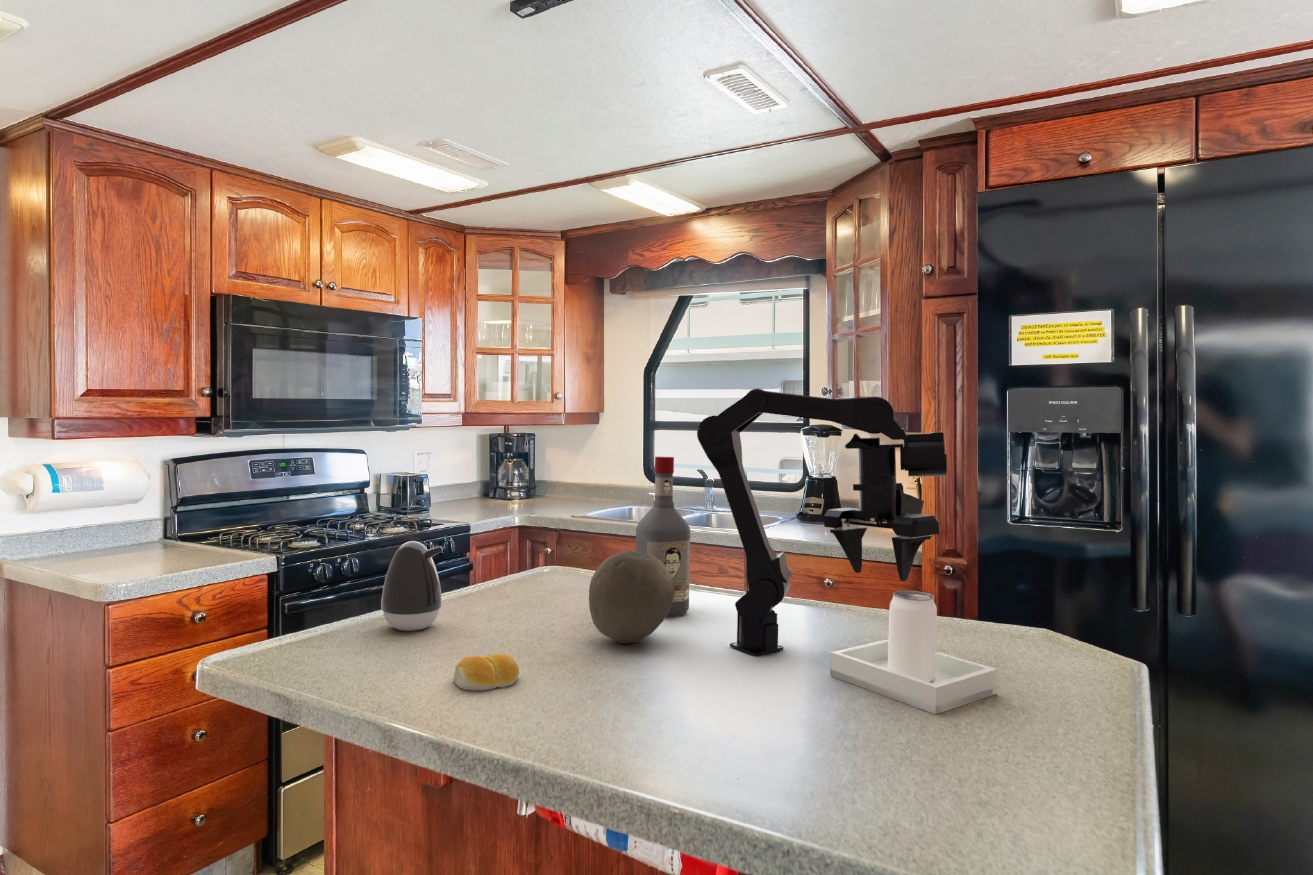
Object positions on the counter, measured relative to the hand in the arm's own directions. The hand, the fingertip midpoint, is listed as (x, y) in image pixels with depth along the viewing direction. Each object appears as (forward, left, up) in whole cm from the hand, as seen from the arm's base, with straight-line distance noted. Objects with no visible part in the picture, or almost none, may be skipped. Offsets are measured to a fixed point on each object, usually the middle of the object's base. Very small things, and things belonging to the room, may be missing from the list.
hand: (880, 576), depth 125 cm
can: (+10, -5, -13) cm, 17 cm away
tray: (+10, -5, -13) cm, 17 cm away
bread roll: (-24, -55, -14) cm, 62 cm away
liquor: (-43, -11, -14) cm, 47 cm away
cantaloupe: (-30, -27, -14) cm, 43 cm away
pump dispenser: (-57, -55, -14) cm, 80 cm away
